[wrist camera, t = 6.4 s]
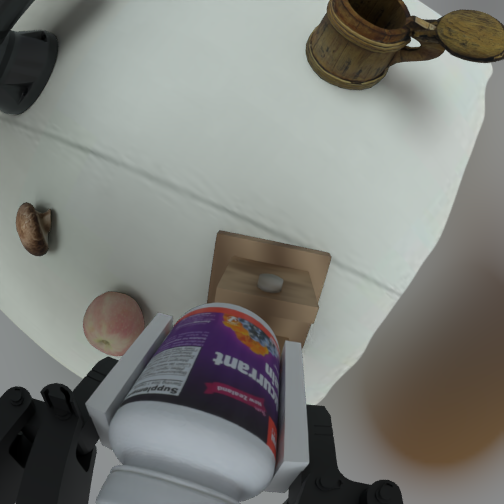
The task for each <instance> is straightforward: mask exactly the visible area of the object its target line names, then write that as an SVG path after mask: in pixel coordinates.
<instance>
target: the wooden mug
mask: <svg viewBox="0 0 504 504" xmlns="http://www.w3.org/2000/svg"><path fill="white" fill-rule="evenodd" d="M410 36H411V37H412V38H414V39H416V40H417V41H418V42H419V43H420V44H421V46H420V47H409V46H406V45H407V44H408V43H410V41H411V37H410ZM445 50H447V51H448V52H449V53H450V54H451V55H453V56H455V57H458V58H461V59H463V60H468V61H472V62H478V63H490V62H496V61H500V60H502V59H504V25H503V24H502V23H500V22H499V21H498V20H497V19H495V18H494V17H492V16H490V15H488V14H486V13H483V12H480V11H475V10H457V11H453V12H450V13H448V14H446V15H445V16H443V17H441V18H439V19H438V20H424V19H420V18H418V17H416V16H410V13H409V11H408V9H407V7H406V5H405V4H404V2H403V1H402V0H330V1H329V2H328V6H327V13H326V14H325V16H324V18H323V19H322V21H321V23H320V24H319V26H317V27H316V28H315V29H314V30H313V32H312V33H311V35H310V36H309V39H308V41H307V43H306V55H307V59H308V62H309V64H310V65H311V67H312V69H313V70H314V71H315V72H316V73H317V74H318V75H319V77H320V78H322V79H324V80H325V81H327V82H329V83H330V84H333V85H336V86H338V87H341V88H346V89H354V90H362V89H366V88H371V87H372V86H374V85H375V84H377V83H378V82H379V81H380V80H381V79H382V78H383V77H384V76H385V75H386V73H387V71H388V68H389V67H390V66H392V65H394V64H396V63H400V62H410V61H425V60H431V59H434V58H437V57H439V56H440V55H441V54H442V53H443V52H444V51H445Z"/></svg>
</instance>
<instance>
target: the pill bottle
mask: <svg viewBox="0 0 504 504" xmlns="http://www.w3.org/2000/svg"><path fill="white" fill-rule="evenodd" d="M279 384H280V350H279V345H278V341H277V339H276V336H275V334H274V332H273V331H272V329H271V328H270V327H269V325H268V324H267V323H266V322H265V321H264V320H263V319H261V318H260V317H259V316H258V315H256V314H255V313H253V312H251V311H250V310H248V309H245V308H243V307H240V306H237V305H233V304H229V303H208V304H204V305H200V306H197V307H195V308H193V309H191V310H189V311H188V312H186V313H185V314H184V315H183V316H182V317H181V318H180V319H179V320H178V322H177V323H176V324H175V325H174V327H173V328H172V329H171V331H170V332H169V334H168V335H167V337H166V338H165V340H164V341H163V342H162V344H161V345H160V347H159V348H158V350H157V351H156V353H155V354H154V355H153V357H152V358H151V360H150V362H149V363H148V364H147V366H146V367H145V369H144V371H143V372H142V373H141V375H140V376H139V378H138V379H137V381H136V382H135V384H134V385H133V387H132V388H131V390H130V391H129V393H128V395H127V396H126V398H125V399H124V401H123V402H122V404H121V405H120V407H119V408H118V410H117V411H116V413H115V415H114V417H113V419H112V421H111V423H110V426H109V441H110V445H111V447H112V450H113V452H114V453H115V455H116V456H117V458H118V459H119V461H120V462H121V463H122V464H123V465H118V466H114V467H113V468H112V469H111V471H110V474H109V475H108V477H107V479H106V481H105V483H104V484H103V486H102V488H101V490H100V492H99V495H98V497H97V499H96V504H240V503H239V502H241V501H245V500H248V499H250V498H253V497H255V496H257V495H258V494H260V493H261V492H263V491H264V490H265V489H266V488H267V487H268V486H269V484H270V482H271V480H272V478H273V475H274V470H275V464H276V445H277V427H278V407H279Z"/></svg>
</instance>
